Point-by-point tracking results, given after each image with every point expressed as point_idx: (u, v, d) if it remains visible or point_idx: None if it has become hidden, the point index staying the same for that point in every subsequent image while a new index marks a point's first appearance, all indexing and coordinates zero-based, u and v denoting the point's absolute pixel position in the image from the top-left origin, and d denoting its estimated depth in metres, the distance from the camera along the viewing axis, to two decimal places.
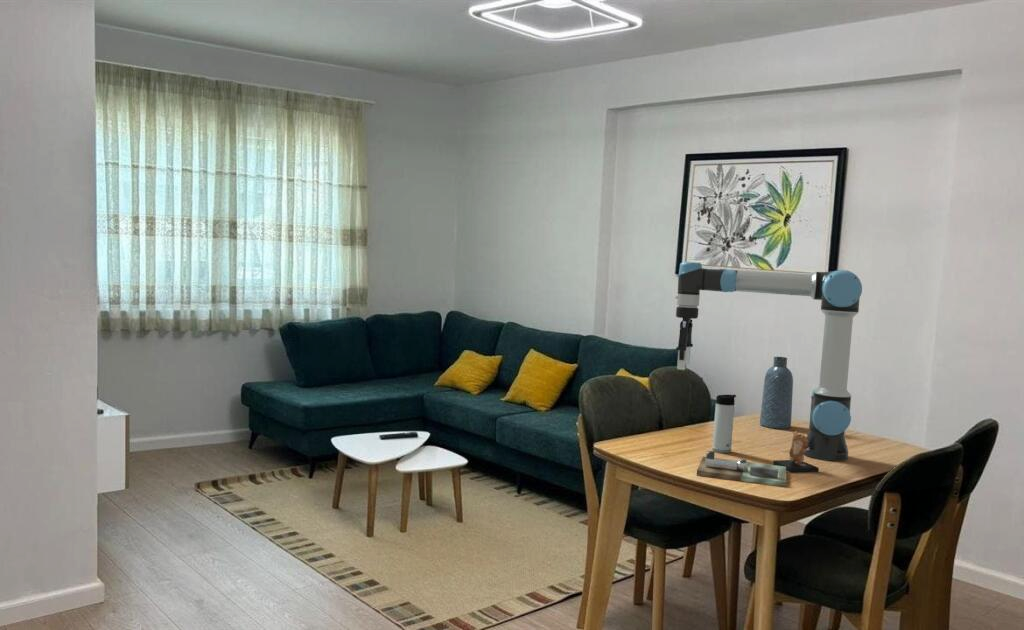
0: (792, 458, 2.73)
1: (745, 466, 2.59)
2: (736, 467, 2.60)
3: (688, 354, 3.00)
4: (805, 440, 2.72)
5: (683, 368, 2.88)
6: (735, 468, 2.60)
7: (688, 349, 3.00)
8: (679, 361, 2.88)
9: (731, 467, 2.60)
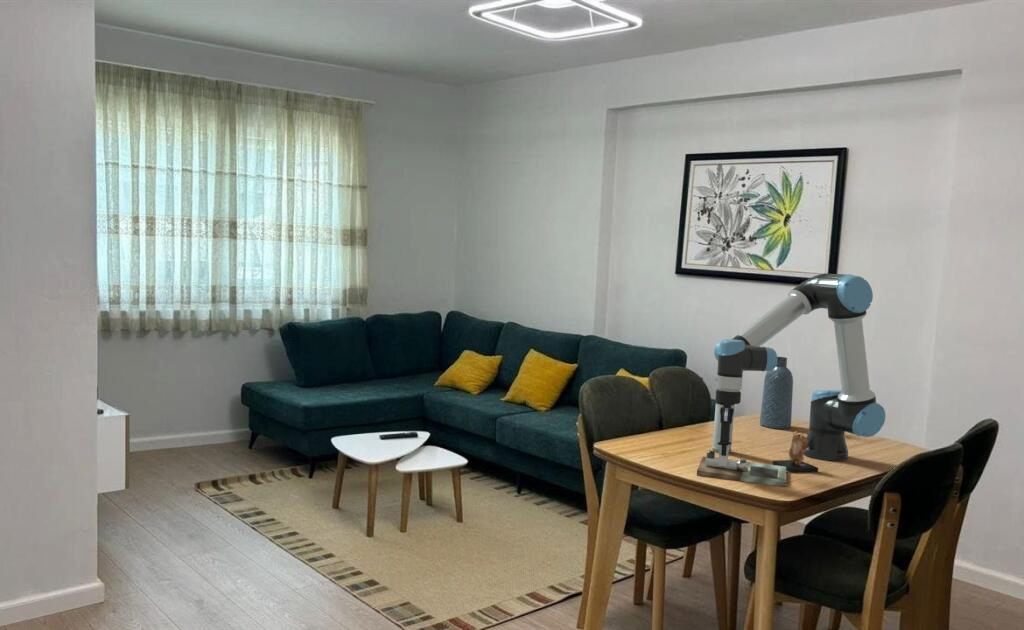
0: (792, 458, 2.73)
1: (745, 466, 2.59)
2: (736, 467, 2.60)
3: None
4: (805, 440, 2.72)
5: (725, 464, 2.60)
6: (735, 468, 2.60)
7: None
8: (721, 457, 2.60)
9: (731, 467, 2.61)
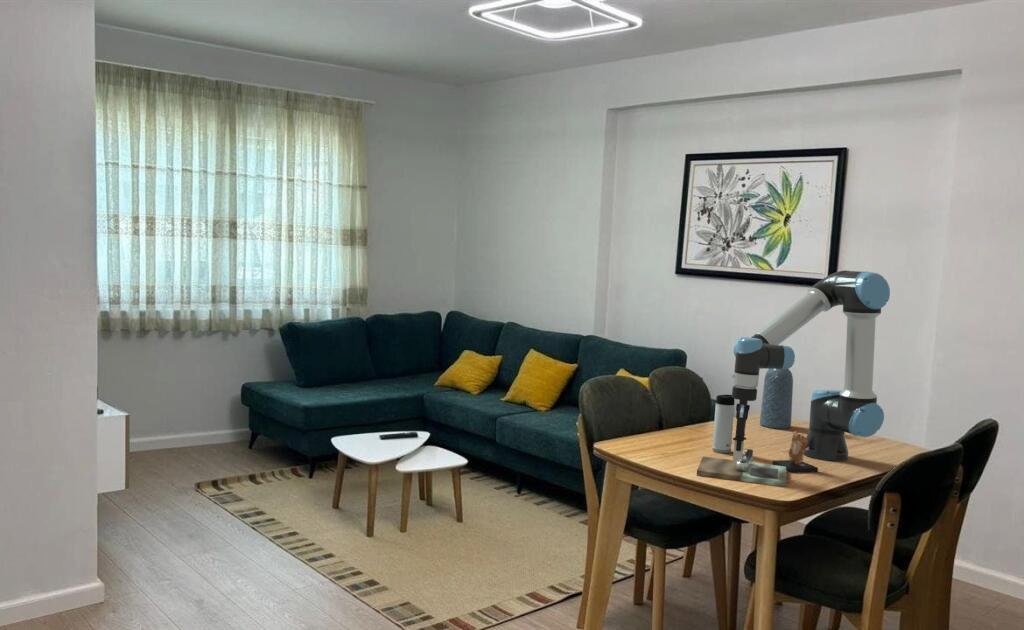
0: (791, 458, 2.73)
1: (737, 464, 2.60)
2: None
3: None
4: (804, 440, 2.72)
5: None
6: None
7: None
8: (735, 452, 2.67)
9: None
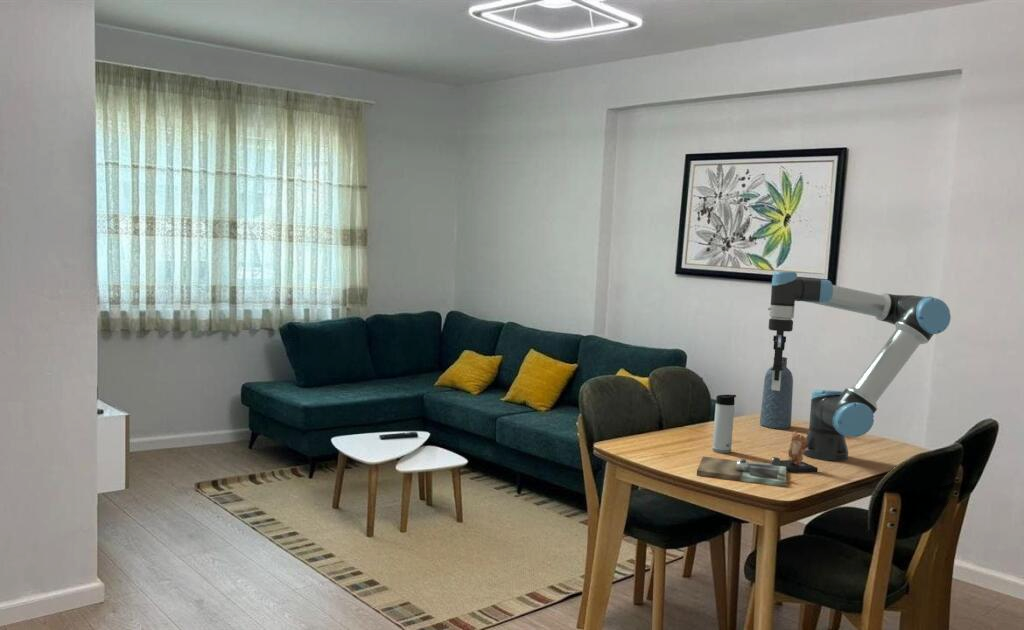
0: (791, 458, 2.73)
1: None
2: None
3: None
4: (804, 440, 2.72)
5: (778, 389, 2.76)
6: None
7: None
8: (774, 382, 2.77)
9: None
